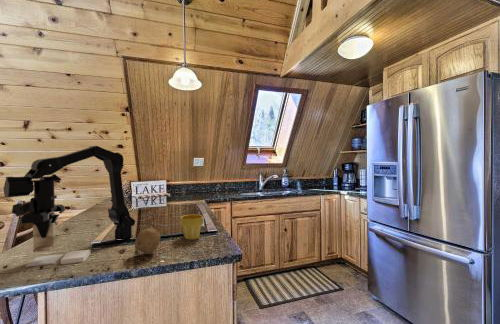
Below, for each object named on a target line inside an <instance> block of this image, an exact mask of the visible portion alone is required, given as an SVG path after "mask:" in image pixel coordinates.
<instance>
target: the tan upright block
mask: <svg viewBox="0 0 500 324" xmlns="http://www.w3.org/2000/svg"><path fill="white" fill-rule="evenodd" d="M56 229H57V226H56V222H55V223H51V224H50V227H49V230H48V233H47V235H46V237H45V238H42V237H41V235H40V233H39V231H38V228H37V226H36V225H35V224H33V225H32V242H33V246H32V247H33V249H32V253H37V252H47V251H51V250H53V249H54V248H56V247H57V237H56V235H57V234H56V233H57V232H56Z"/></svg>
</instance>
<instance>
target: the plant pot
mask: <svg viewBox="0 0 500 324" xmlns="http://www.w3.org/2000/svg"><path fill="white" fill-rule="evenodd" d="M203 224H204V216H203V214H202V215H201V214H187V215H186V214H185V215H182V216H181V217H180V225H181V227H182V230H183V231H182V232H183V237H184V239H186V240H197V239H199V238H200V233H201V229H202V225H203Z"/></svg>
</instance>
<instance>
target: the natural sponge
mask: <svg viewBox="0 0 500 324" xmlns="http://www.w3.org/2000/svg"><path fill="white" fill-rule="evenodd" d="M138 233H139V234H138V235H137V237H136V239H135V241H134V248H135V249H136V250H138V251H140V252H143V253H144V254H146V255H148V256H149V255H152V254H153V253H155V252H156V250H157V249H158V246H159V245H160V241H161V235H160V232H159V231H158V230H156V229H155V228H145V229H143V230H141V231H140V232H138Z"/></svg>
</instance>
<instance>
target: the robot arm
mask: <svg viewBox="0 0 500 324" xmlns="http://www.w3.org/2000/svg"><path fill="white" fill-rule="evenodd" d="M92 157H94V158H96V159H98V160H99V161H102V162H103V164H104V167H105V170H106V171H107V173H108V177H109V179H108V180H109V186H110V193H111V194H110V195H111V202H112V203H111V204H112V205H111V208H107V211H108V216H107V217H108V219H110V221H111V222H113V225H114V226H115V230H114V239H115V240H116V239H130V238H133V236H134V235H133V227H134V226H135V225H136V220H135V219H134V218H132V216H131V214H130V210H129V208H128V207H127V205H126V203H125V197H124V196H125V195H124V189H123V179H122V170H123V167H124V156H123V155H122V154H121V153H120V152H114V151H111V150H109V149H106V148H103V147H100V146H99V145H91V146H88V147H86V148H83V149H81V150H80V149H79V150H76V151H74V152H70V153H67V154H63V155H60V156H56V157H55V156H54V157H47V158H40V159H36V160H34V161H33V162H32V164H31V166H30V169H29V170H28V171H27V172H26V174H25V175H24V176H6V177H5V181H4V185H3V189H2V190H3V195H4V197H5V198H6V199H7V198H17V197H27V196H30V194H32V193H33V197H31V198H30V199H29V200H30V202H28V203H24V204H23V203H21V202H19V203H16V204H13V205H12V208H11V213H12V214H13V215H15V216H16V217H19V216H21V217H20V219H19V221H20V224H22V225H23V224H33V225H36V226H37V228H38V231H39V233H40V235H41V237H42V238H45V237H46V235H47V233H48V230H49V227H50V224H51V223H55V224H56V222H57V221H58V218H59V216H60V214H56V213H57V212H59V213H61V214H62V213H65V212H66V211H65V210H66V209H65V208H66V206H65V205H64V204H56V203H55V199H57V198H58V197H57V195H56V194H55V181H62V178H60V177H59V176H58V175H57V174H54V173H57V172H58V171H60V170H62V169H63V168H65V167H67V166H69V165H72V164H75V163H77V162H81V161H83V160H86V159H87V160H88V159H89V158H90V159H91V158H92Z"/></svg>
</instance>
